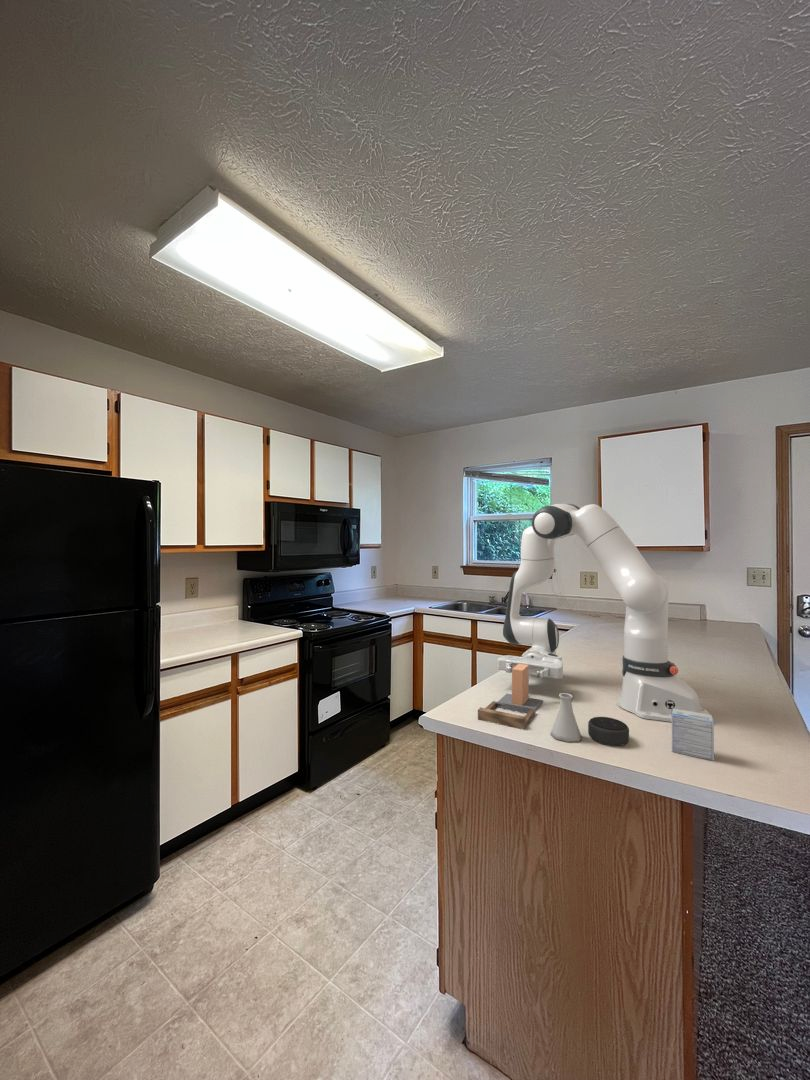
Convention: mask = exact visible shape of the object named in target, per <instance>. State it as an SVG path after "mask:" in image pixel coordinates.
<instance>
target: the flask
mask: <svg viewBox="0 0 810 1080" xmlns="http://www.w3.org/2000/svg"><path fill="white" fill-rule="evenodd" d="M558 697H559V699H560V701H559V707H558V712H557V715H556V718H555V720H554V723H553V726H552V728H551V731H550V735H551V737H553V738H554V739H555V740H559V741H564V742H570V743H571V742H573V743H574V742H580V741H581V740H582V737H583V736H582V734H581V731H580V728H579V726H578V723H577V720H576V716H575V713H574V710H573V704H572V702H573V701H572V699H573V698H574V696H573V694H570V693H567V692H562V693H561V692H560V693H559V695H558Z"/></svg>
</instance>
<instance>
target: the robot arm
mask: <svg viewBox="0 0 810 1080" xmlns="http://www.w3.org/2000/svg"><path fill="white" fill-rule="evenodd" d="M573 535H576V536H577V537H579V538H580V539H581V541H582V542H583V544H584V545H585V547H586V548H587V549H588V550H589V552H590V553H591V554H592V555H593V558H595V560H596V562H597V563H599V565H600V567H602V569H603V571H604V572H605V574H606V576H607V578H608V579H609V580H610V583H611V584H612V586H613V587H614V589H615V591H616V592H617V594H618V595H619V596H620V598H621V599H622V601H623V602H624V604H625V617H624V626H623V627H624V628H623V656H622V659H621V674H622V683H621V684H622V685H621V691H620V694H619V697H618V700H617V704H618V706H619V707H621V709H623V710H625V711H628V712H631V714H635V715H637V716H638V717H639V718H642V719H646V720H654V721H663V722H669V723H670V722H671V723H672V718H671V714H672V709H679V710H685V711H691V712H697V713H702V714H708V715H711V714H710V712H709V711H708V710H707V709H706V708H703V707H702V706H701V700H700V697H699V695H698V693H697V691H695V689H694V688H693V687H691V686H690V685H689V684H688V683H686V682H685V681H683V679H681V678H680V677H678V676H677V674H678V673H679V668H678V667H677V665H676V664H675V663H674V662H671V661H670V660H668V655H669V654H668V653H669V652H668V651H669V649H668V648H669V647H668V643H669V642H668V637H669V636H668V634H669V633H668V631H669V629H668V627H669V586H668V583H667V582H666V580H665V578H664V577H662V576H661V575H659V574H657V573H655V571H654V570H653V569H652V567H651V566H650V565H649V563H648V562H647V561H646V559H645V558H644V556H643V555H642V554H641V552H640V550H639V549H638V547H637V546H636V545H635V544H634V542H633V541H632V540H631V539H630V537H629V536H628V535H627V533H626V532H625V531H624V530H623V529H622V528H621V526H620V524H618V522H617V521H616V520H615V518H613V517H612V516H611V515H610V514H609V513H608V511H606V510H605V509H603V507H601V506H600V505H599V504H596V503H593V504H590V503H589V504H585V505H584V506H581V507H579V506H577V505H576V504H572V503H556V504H550V505H544V506H543V507H540V508H539V509H537V510H536V512H534V514H533V516H532V519H531V526H528V527H526V528H525V529H524V530H523V532H522V535H521V541H520V563H519V568H518V570H517V571H515V572H513V574H512V576H511V579H510V583H509V590H508V596H507V602H506V610H505V611H506V612H505V617H504V622H503V625H502V636H503V638H504V639H505V640H506V641H507V642H508V643H509V644H510V645H526V646H527V645H528V646H531V647H530V648H528V649H527V650H526V651H524V652H523V653H522V655H521V656H518V655H510V654H509V655H508V654H507V655H502V656H500V657H498V658H497V659H496V661H497V662H496V663H497V664H496V666H497V667H496V668H497V669H498V670H499V671H505V672H506V673H509V674H512V669H513V668H514V667H515V666H517V665H518V664H524V665H529V677H532V678H540V679H543V678H551V679H556V680H562V679H563V677H564V662H563V658H562V656H561V655H558V654H557V649H558V648H559V643H560V634H559V628H558V626H557V625H556V623H555V622H554V621H553V620H552V619H550V618H549V617H548V618H546V617H534V616H533V617H531V616H522V615H521V614H520V608H521V601H522V594H523V592H524V591H525V590H527V589H529V588H532V587H535V586H537V585H540V584H543V583H545V582H546V581H548V580H549V579H550V578H551V577H552V576H553V574H554V571H555V544H556V542H557V541H558V540H559V539H564V538H566V537H570V536H573Z"/></svg>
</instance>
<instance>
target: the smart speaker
mask: <svg viewBox="0 0 810 1080" xmlns="http://www.w3.org/2000/svg"><path fill="white" fill-rule="evenodd" d="M587 731H588V732H587V733H588V736H589V737H590V738H591V739H592V740H593V741H595V742H597V743H600V744H602V745H606V746H612V747H613V746H617V747H619V746H624V745H626V744H627V743H629V740H630V729H629V727H628V725H627V724H626V723H625V722H623V721H621V720H620V719H616V718H613V717H610V716H609V717H608V716H596V717H595V716H594V717H591V718H590V719H589V720H588V723H587Z"/></svg>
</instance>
